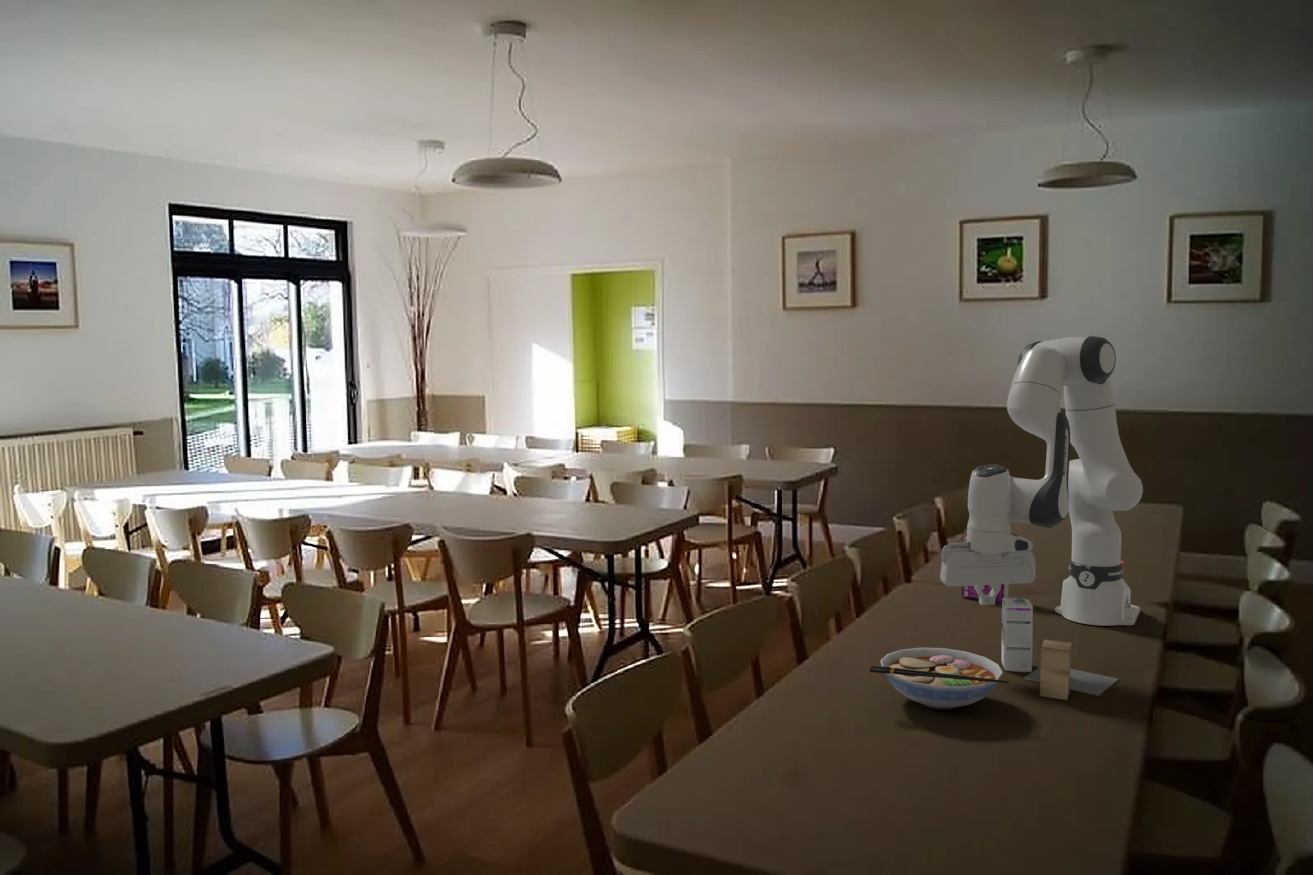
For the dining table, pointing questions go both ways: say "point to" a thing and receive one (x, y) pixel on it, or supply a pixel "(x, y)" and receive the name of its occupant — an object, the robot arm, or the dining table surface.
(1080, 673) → the rubber mat
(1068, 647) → the oak block
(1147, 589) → the dining table surface
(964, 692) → the ramen bowl
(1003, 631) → the syrup box
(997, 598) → the candy bar box
